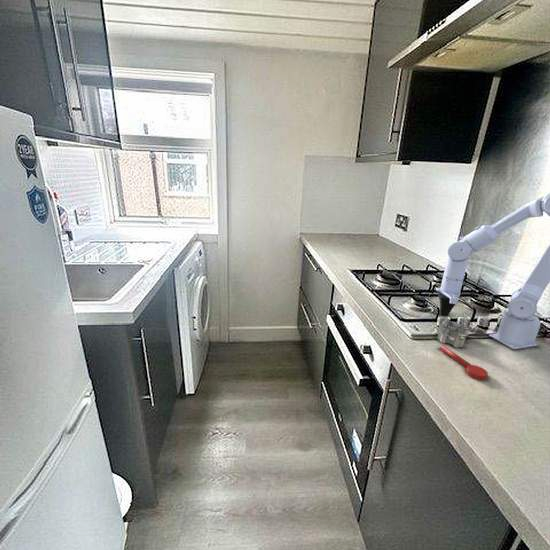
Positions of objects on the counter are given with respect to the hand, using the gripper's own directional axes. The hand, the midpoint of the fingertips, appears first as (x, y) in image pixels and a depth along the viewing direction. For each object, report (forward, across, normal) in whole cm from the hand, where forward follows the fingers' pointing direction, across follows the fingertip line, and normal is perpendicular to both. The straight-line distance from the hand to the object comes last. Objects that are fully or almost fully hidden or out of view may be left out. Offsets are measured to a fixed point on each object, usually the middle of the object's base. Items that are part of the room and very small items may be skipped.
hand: (443, 315), depth 102 cm
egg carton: (+2, +12, 0) cm, 13 cm away
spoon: (+2, +26, 0) cm, 26 cm away
